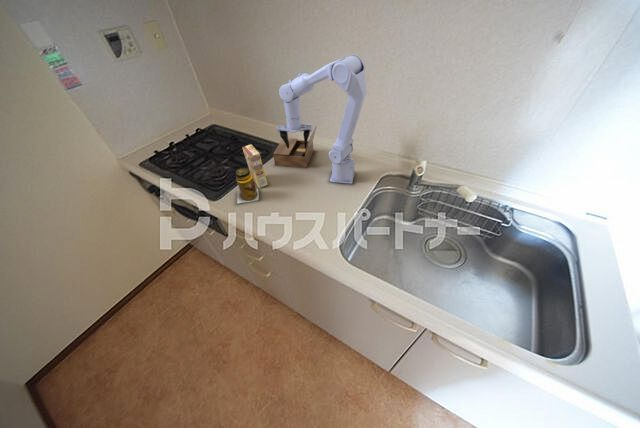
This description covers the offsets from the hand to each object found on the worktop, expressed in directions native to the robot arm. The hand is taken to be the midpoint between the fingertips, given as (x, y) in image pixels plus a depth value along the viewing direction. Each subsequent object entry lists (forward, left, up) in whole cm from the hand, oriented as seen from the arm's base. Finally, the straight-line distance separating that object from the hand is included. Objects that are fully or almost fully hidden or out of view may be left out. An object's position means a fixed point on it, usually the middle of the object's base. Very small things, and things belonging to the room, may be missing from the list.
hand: (296, 147), depth 104 cm
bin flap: (-5, -5, +1) cm, 7 cm away
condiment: (+15, +25, -9) cm, 31 cm away
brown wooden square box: (+4, -5, -9) cm, 11 cm away
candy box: (+14, +15, -9) cm, 22 cm away
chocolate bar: (0, -5, -8) cm, 10 cm away
